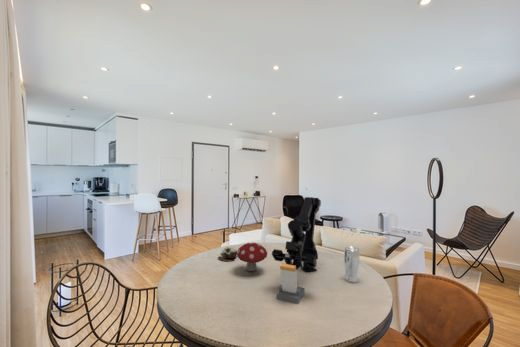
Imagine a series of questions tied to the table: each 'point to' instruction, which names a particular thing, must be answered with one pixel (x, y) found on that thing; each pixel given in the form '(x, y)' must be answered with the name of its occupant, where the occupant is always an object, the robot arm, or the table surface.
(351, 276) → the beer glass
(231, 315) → the table surface
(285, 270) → the lever
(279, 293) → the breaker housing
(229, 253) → the skull
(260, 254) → the decorative mushroom
